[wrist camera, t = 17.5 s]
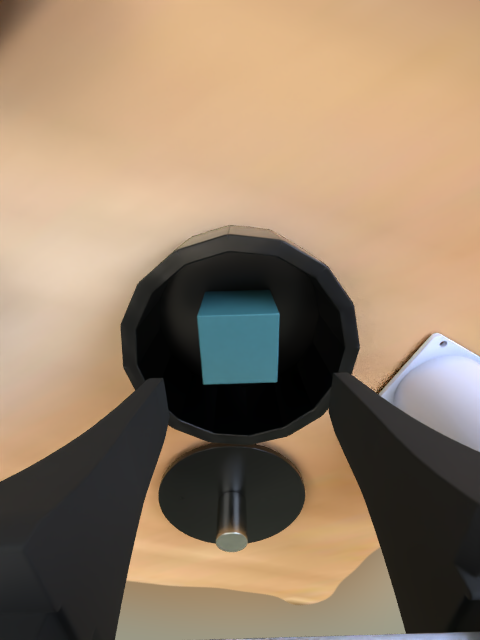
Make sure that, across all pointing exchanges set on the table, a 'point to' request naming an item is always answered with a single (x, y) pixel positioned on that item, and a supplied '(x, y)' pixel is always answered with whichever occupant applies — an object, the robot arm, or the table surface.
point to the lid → (231, 494)
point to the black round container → (294, 335)
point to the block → (238, 337)
